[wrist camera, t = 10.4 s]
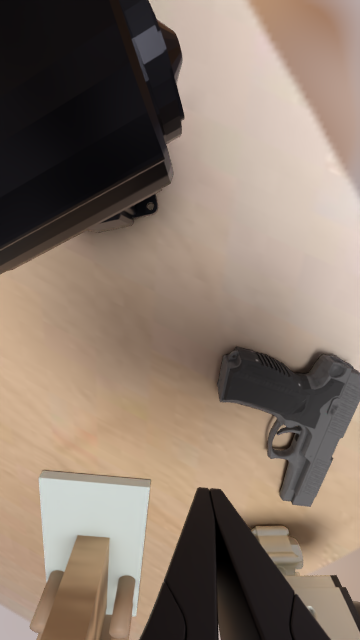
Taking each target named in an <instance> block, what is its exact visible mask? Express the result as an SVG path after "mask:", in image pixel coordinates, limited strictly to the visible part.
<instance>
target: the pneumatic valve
mask: <svg viewBox="0 0 360 640" xmlns="http://www.w3.org/2000/svg"><path fill="white" fill-rule="evenodd" d="M251 532H252V533H253V534H254V536H255V537H256V538H257V540H258V541H259V543H260V544H261V545H262V547H263V548H264V549H265V551H266V552H267V554H268V555H269V556H270V558H271V559H272V561H273V562H274V563H275V565H276V566H277V567H278V569H279V570H280V572H281V573H282V574H283V576H284V577H285V578H286V580H287V581H288V583H289V584H290V585H291V587H292V588H293V590H294V591H295V594H298V596H299V597H300V599H301V600H302V601H303V603H304V604H305V605H306V607H307V608H308V610H309V611H310V612H311V614H312V615H313V616H314V617H315V619H316V620H317V621H318V623H319V624H320V625H321V627H322V628H323V629H324V631H325V632H326V633H327V635H328V636H329V637H330V639H331V640H360V602H357V601H352V599H351V597H350V595H349V594H348V591H347V589H346V587H342V586H341V584H340V582H339V579H338V577H337V576H336V575H324V576H322V575H320V576H300V574H299V572H295V569H301V568H302V567H303V556H302V551H301V548H300V546H299V543H298V541H297V540H296V539H295V538H294V537H288V535H289V531H288V529H287V528H285V527H284V526H255V528H252V530H251Z"/></svg>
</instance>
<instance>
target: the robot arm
mask: <svg viewBox="0 0 360 640" xmlns="http://www.w3.org/2000/svg"><path fill="white" fill-rule="evenodd" d="M181 65H182V53H181V48H180V44H179V41H178V38H177V36H176V34H175V32H174V31H172V30H171V29H170V28H168V27H167V26H166V25H164V24H163V23H161V22H160V21H159V20H157V19H156V17H155V14H154V12H153V10H152V7H151V5H150V3H149V1H148V0H0V274H2V273H4V272H6V271H9V270H13V269H15V268H17V267H19V266H20V265H22V264H24V263H26V262H28V261H30V260H32V259H34V258H35V257H37V256H39V255H41V254H43V253H45V252H47V251H49V250H51V249H52V248H54V247H56V246H58V245H60V244H62V243H64V242H66V241H67V240H69V239H71V238H73V237H75V236H77V235H79V234H81V233H82V232H84V231H86V230H88V231H94V232H103V231H108V230H112V229H117V228H121V227H126V226H131V225H132V224H133V222H134V221H133V219H134V218H139V217H144V216H148V215H153V214H155V213H156V212H157V210H158V203H157V198H156V193H158V192H160V191H161V190H162V188H163V187H165V186H167V185H169V184H170V183H171V180H172V177H173V169H172V164H171V160H170V157H169V153H168V149H167V146H166V144H167V143H169V142H171V141H172V140H174V139H176V138H178V137H180V136H181V134H182V126H181V121H182V120H184V112H183V108H182V104H181V100H180V97H179V93H178V89H177V85H176V83H177V80H178V76H179V72H180V69H181ZM150 203H153V204H154V208H153V209H152V210H149V209H148V204H150ZM218 624H219V631H220V637H221V640H331V639H330V637H329V636H328V635H327V633H326V632H325V631H324V629H323V628H322V627H321V625H320V624H319V623H318V621H317V620H316V619H315V617H314V616H313V615H312V614H311V612H310V611H309V610H308V608H307V607H306V605H305V604H304V603H303V601H302V600H301V599H300V597H299V596H298V594H295V591H294V590H293V588H292V587H291V585H290V584H289V583H288V581H287V580H286V578H285V577H284V576H283V574H282V573H281V572H280V570H279V569H278V567H277V566H276V565H275V563H274V562H273V561H272V559H271V558H270V556H269V555H268V554H267V552H266V551H265V549H264V548H263V547H262V545H261V544H260V543H259V541H258V540H257V538H256V537H255V536H254V534H253V533H252V532H251V530H250V529H249V527H248V526H247V525H246V523H245V522H244V520H243V519H242V518H241V516H240V515H239V514H238V512H237V511H236V509H235V508H234V507H233V505H232V504H231V503H230V501H229V500H228V498H227V497H226V496H225V494H224V493H223V491H222V490H221V489H214V488H211V489H210V490H209V489H208V488H201V487H199V488H197V491H196V494H195V496H194V499H193V502H192V505H191V507H190V510H189V513H188V515H187V518H186V521H185V524H184V526H183V529H182V532H181V535H180V537H179V540H178V543H177V546H176V548H175V551H174V554H173V557H172V559H171V562H170V565H169V568H168V570H167V573H166V576H165V579H164V582H163V583H162V586H161V589H160V591H159V594H158V597H157V599H156V602H155V604H154V607H153V609H152V612H151V614H150V617H149V619H148V622H147V624H146V626H145V628H144V630H143V633H142V635H141V637H140V639H139V640H219V638H218Z"/></svg>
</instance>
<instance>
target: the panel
mask: <svg viewBox="0 0 360 640" xmlns="http://www.w3.org/2000/svg"><path fill="white" fill-rule="evenodd" d="M150 482H151V480H145V479H134V478H123V477H111V476H100V475H89V474H78V473H66V472H55V471H44V470H43V471H42V473H41V475H40V476H39V489H40V502H41V516H42V530H43V543H44V557H45V571H46V586H45V588H44V591H43V593H42V596H41V599H40V601H39V604H38V606H37V609H36V611H35V614H34V616H33V619H32V621H31V624H30V629H31V630H32V631H34V632H36V633H39V634H38V637H37V639H36V640H40V639H41V636H42V634H43V631H44V628H45V625H46V622H47V620H48V617H49V614H50V611H51V608H52V605H53V603H54V600H55V597H56V594H57V591H58V589H59V586H60V583H61V580H62V577H63V574H64V572H65V569H66V566H67V563H68V560H69V558H70V555H71V552H72V549H73V546H74V543H75V541H76V538H77V535H83V536H95V537H108V538H110V543H109V566H108V589H107V609H106V614H105V619H104V624H103V629H102V634H101V639H100V640H129V633H130V625H131V617H132V616H136V612H137V603H138V594H139V584H140V575H141V566H142V556H143V547H144V538H145V528H146V519H147V510H148V500H149V491H150Z"/></svg>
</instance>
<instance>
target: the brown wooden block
mask: <svg viewBox="0 0 360 640" xmlns="http://www.w3.org/2000/svg"><path fill="white" fill-rule="evenodd" d="M109 543H110V538H108V537H95V536H83V535H77V538H76V541H75V543H74V546H73V549H72V552H71V555H70V558H69V560H68V563H67V566H66V569H65V572H64V574H63V577H62V580H61V583H60V586H59V589H58V591H57V594H56V597H55V600H54V603H53V605H52V608H51V611H50V614H49V617H48V620H47V622H46V625H45V628H44V631H43V634H42V636H41V639H40V640H100V639H101V634H102V629H103V624H104V619H105V614H106V609H107V589H108V566H109Z"/></svg>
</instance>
